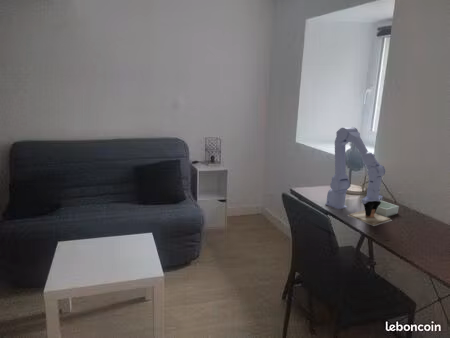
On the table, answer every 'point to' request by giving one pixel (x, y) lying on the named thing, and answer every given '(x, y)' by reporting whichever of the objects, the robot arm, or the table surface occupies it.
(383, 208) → the open box
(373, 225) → the mat
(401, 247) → the table surface
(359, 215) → the lid
